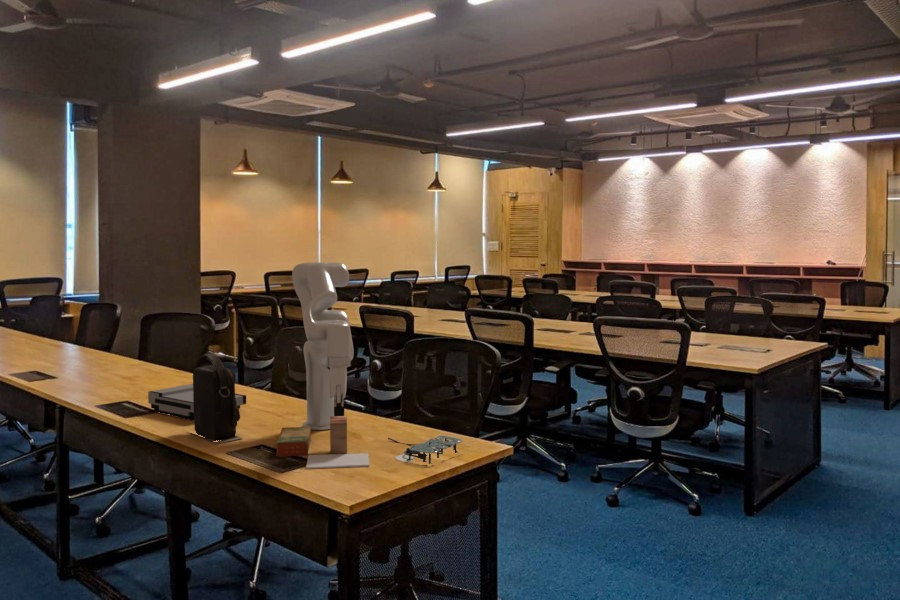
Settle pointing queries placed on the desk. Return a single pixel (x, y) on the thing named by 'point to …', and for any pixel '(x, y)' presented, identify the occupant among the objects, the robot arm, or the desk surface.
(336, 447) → the walnut block
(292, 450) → the carton
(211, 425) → the shoulder bag
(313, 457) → the grey mat
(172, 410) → the game console
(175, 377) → the desk surface
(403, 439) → the desk surface
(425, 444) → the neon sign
